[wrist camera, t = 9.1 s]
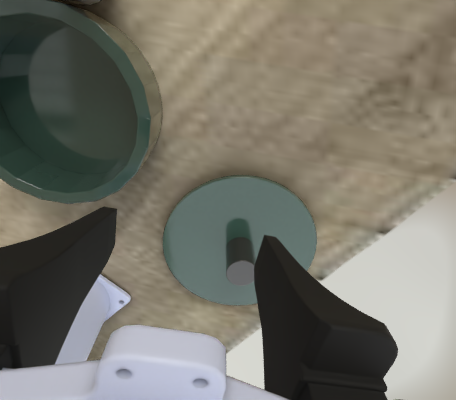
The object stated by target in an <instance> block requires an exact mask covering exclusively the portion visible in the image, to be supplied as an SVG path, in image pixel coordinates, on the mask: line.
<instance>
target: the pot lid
mask: <svg viewBox="0 0 456 400" xmlns="http://www.w3.org/2000/svg"><path fill="white" fill-rule="evenodd" d="M264 235H268V236H274V237H277V238H278V240H279V241H280V242H281V243H282V244H283V245H284V247H285V248H286V249H287V250H288V251H289V253H290V254H291V255H292V256H293V257H294V258H295V259H296V261H297V262H298V263H299V264H300V265H301V266H302V267H303V268H304V269H305V270H306V271H307V270H308V268H309V267H310V265H311V263H312V260H313V258H314V254H315V251H316V244H317V234H316V228H315V224H314V221H313V219H312V216H311V214H310V213H309V211H308V209H307V207H306V206H305V204H304V203H303V202H302V201H301V199H300V198H299V197H297V196H296V195H295V194H294V193H293V192H292V191H290V190H289V189H288V188H286V187H285V186H283V185H281V184H279V183H277V182H274V181H272V180H269V179H266V178H262V177H257V176H249V175H233V176H226V177H221V178H217V179H214V180H211V181H208V182H206V183H204V184H201V185H200V186H198V187H196V188H195V189H193V190H192V191H190V192H189V193H188V194H186V195H185V196H184V197H183V198H182V199H181V200H180V201H179V202H178V203H177V205H176V206H175V207H174V209H173V210H172V212H171V214H170V216H169V218H168V220H167V223H166V226H165V229H164V235H163V251H164V256H165V259H166V262H167V265H168V267H169V269H170V271H171V272H172V274H173V275H174V277H175V278H176V279H177V280H178V281H179V282H180V283H181V284H182V285H183V286H184V287H185V288H186V289H188V290H189V291H191V292H192V293H194V294H195V295H197V296H199V297H201V298H204V299H206V300H209V301H212V302H215V303H220V304H226V305H250V304H256V303H257V297H256V291H255V285H254V266H255V262H256V259H257V256H258V253H259V250H260V246H261V243H262V240H263V237H264Z"/></svg>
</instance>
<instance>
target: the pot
mask: <svg viewBox="0 0 456 400" xmlns="http://www.w3.org/2000/svg"><path fill="white" fill-rule="evenodd" d="M161 122H162V102H161V95H160V91H159V87H158V84H157V81H156V78H155V76H154V73H153V71H152V69H151V67H150V65H149V63H148V62H147V60H146V59H145V57H144V56H143V54H142V53H141V51H140V50H139V49H138V48H137V46H136V45H135V44H134V43H133V42H132V41H131V40H130V39H129V38H128V37H127V36H126V35H125V34H124V33H123V32H122V31H121V30H119V29H118V28H117V27H115V26H114V25H113V24H111V23H109V22H108V21H106V20H104V19H102V18H101V17H99V16H96V15H95V14H93V13H91V12H89V11H86V10H83V9H80V8H77V7H74V6H70V5H67V4H64V3H61V2H56V1H52V0H0V179H2V180H3V181H5V182H6V183H7V184H9V185H10V186H13V188H16V189H18V190H20V191H23V192H25V193H27V194H30V195H32V196H34V197H37V198H39V199H42V200H48V201H54V202H60V203H66V204H73V203H82V202H91V201H97V200H100V199H102V198H104V197H106V196H108V195H111V194H113V193H115V192H117V191H119V190H120V189H121V188H122V187H123V186H124V185H125V184H126V183H127V182H128V181H129V180H130V179H131V178H132V177H134V176H135V175H136V174H137V172H138V171H139V170H140V168H141V167H142V165H143V164H144V163H145V161H146V160H147V159H148V157H149V156H150V154H151V151H152V149H153V148H154V146H155V144H156V141H157V139H158V136H159V133H160V129H161Z"/></svg>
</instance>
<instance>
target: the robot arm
mask: <svg viewBox="0 0 456 400" xmlns="http://www.w3.org/2000/svg"><path fill="white" fill-rule="evenodd" d="M116 215H117V209H114V208H108V207H102V208H100V209H98V210H96V211H94V212H92V213H90V214H88V215H86V216H84V217H82V218H81V219H79V220H77V221H75V222H73V223H71V224H68V225H66V226H64V227H62V228H59V229H57V230H55V231H53V232H50V233H48V234H45V235H42V236H39V237H36V238H34V239H31V240H27V241H24V242H20V243H16V244H13V245H9V246H5V247H1V248H0V400H387V398H386V396H385V393H384V392H386V391H387V386H386V384H385V382H384V380H383V378H384V376H385V375H386V373H387V372H388V370H389V369H390V367H391V366H392V365H393V363H394V361H395V359H396V357H397V353H398V348H397V345H396V342H395V341H394V339H393V337H392V336H391V334H390V332H389V330H388V329H387V327H386V326H385V324H384V323H382V322H380V321H378V320H376V319H374V318H372V317H370V316H368V315H366V314H364V313H362V312H361V311H359V310H357V309H356V308H354V307H352V306H351V305H349V304H347V303H346V302H344V301H343V300H341V299H340V298H338V297H337V296H336V295H334V294H333V293H331V292H330V291H329V290H327V289H326V288H325V287H324V286H322V285H321V284H320V283H319V282H318V281H317V280H315V279H314V278H313V277H312V276H311V275H310V274H309V273H308V272H307V271H306V270H305V269H304V268H303V267H302V266H301V265H300V264H299V263H298V262H297V261H296V259H295V258H294V257H293V256H292V255H291V254H290V253H289V251H288V250H287V249H286V248H285V247H284V245H283V244H282V243H281V242H280V241H279V240H278V238H277V237H274V236H268V235H264V237H263V240H262V243H261V246H260V250H259V253H258V256H257V259H256V262H255V266H254V285H255V291H256V297H257V303H258V309H259V315H260V320H261V327H262V337H263V354H264V380H265V381H264V383H265V390H263V389H261V388H258V387H256V386H253V385H250V384H248V383H245V382H242V381H240V380H237V379H235V378H232V377H230V376H227V375H226V349H225V346H224V345H223V344H222V343H221V342H220V341H219V340H218V339H217V338H215V337H212V336H209V335H206V334H203V333H196V332H189V331H182V330H175V329H167V328H160V327H153V326H145V325H125V326H122V327H121V328H119V329H117V330H115V331H113V332H112V333H111V336H110V338H109V340H108V342H107V344H106V347H105V349H104V352H103V354H102V357H101V359H100V360H92V361H86V360H87V358H88V356H89V354H90V352H91V349H92V347H93V345H94V343H95V340H96V338H97V336H98V334H99V331H100V329H101V327H102V325H103V322H105V321H106V320H107V319H108V318H110V317H111V316H112V315H113V314H115V313H116V312H117V311H118V310H120V309H121V308H122V307H123V306H125V305H126V304H127V303H128V302H129V301H130V299H131V296H130V295H129V294H128V293H127V292H125V291H124V290H122V289H121V288H119V287H118V286H117V285H115V284H114V283H112V282H111V281H109V280H108V279H107V278H105V277H104V276H102V275H101V274H100V273H101V272H102V270H103V268H104V267H105V265H106V263H107V262H108V259H109V257H110V255H111V253H112V250H113V248H114V245H115V233H116ZM121 300H122V301H121ZM396 400H400V399H396Z"/></svg>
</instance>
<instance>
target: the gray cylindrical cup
mask: <svg viewBox="0 0 456 400" xmlns="http://www.w3.org/2000/svg"><path fill="white" fill-rule="evenodd" d="M64 1H67V2H70V3H76V4H81V5H89V4H94V3H97V2H99V1H101V0H64Z"/></svg>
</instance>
